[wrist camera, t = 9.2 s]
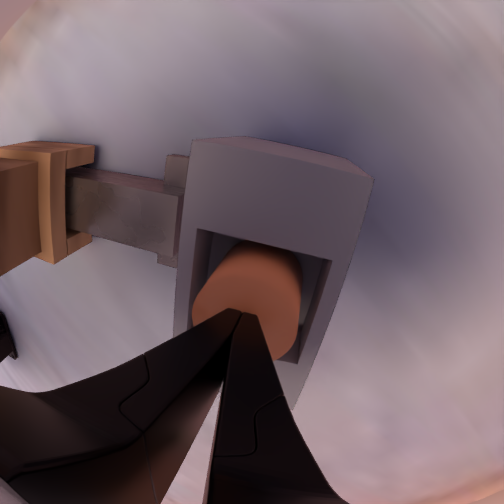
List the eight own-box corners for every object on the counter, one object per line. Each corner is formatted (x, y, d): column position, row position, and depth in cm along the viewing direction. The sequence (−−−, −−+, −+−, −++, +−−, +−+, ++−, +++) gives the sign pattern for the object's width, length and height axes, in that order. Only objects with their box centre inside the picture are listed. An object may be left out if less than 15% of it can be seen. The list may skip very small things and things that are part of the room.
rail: (-20, 203, 20) (-40, 211, 18) (-22, 138, 18) (-43, 143, 15) (188, 264, 18) (170, 283, 15) (201, 158, 15) (182, 163, 13)
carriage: (33, 223, 19) (-57, 269, 11) (32, 141, 16) (-71, 165, 8) (92, 241, 18) (-8, 305, 10) (94, 145, 16) (-28, 172, 8)
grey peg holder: (218, 295, 18) (171, 377, 12) (244, 136, 15) (192, 139, 8) (302, 316, 18) (292, 410, 11) (346, 158, 14) (374, 179, 8)
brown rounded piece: (215, 302, 12) (188, 349, 9) (226, 229, 11) (197, 263, 8) (291, 321, 12) (283, 374, 9) (312, 249, 11) (310, 292, 8)
